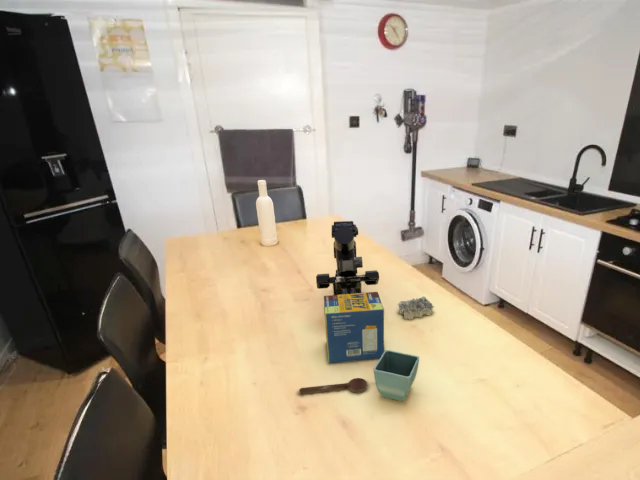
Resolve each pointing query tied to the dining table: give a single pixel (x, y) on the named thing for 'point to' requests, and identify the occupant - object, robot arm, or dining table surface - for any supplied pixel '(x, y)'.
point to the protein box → (354, 327)
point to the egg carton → (415, 308)
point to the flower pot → (395, 374)
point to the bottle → (266, 216)
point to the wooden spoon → (339, 387)
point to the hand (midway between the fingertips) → (350, 306)
